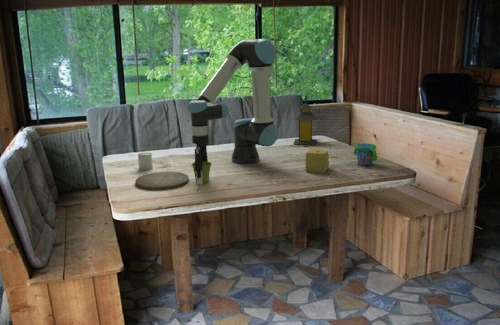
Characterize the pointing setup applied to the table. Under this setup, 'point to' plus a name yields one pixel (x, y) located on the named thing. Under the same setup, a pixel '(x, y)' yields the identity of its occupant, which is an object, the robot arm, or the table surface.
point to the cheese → (317, 160)
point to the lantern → (305, 125)
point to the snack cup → (365, 153)
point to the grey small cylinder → (145, 161)
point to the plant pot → (204, 171)
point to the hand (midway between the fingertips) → (202, 181)
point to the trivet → (162, 180)
